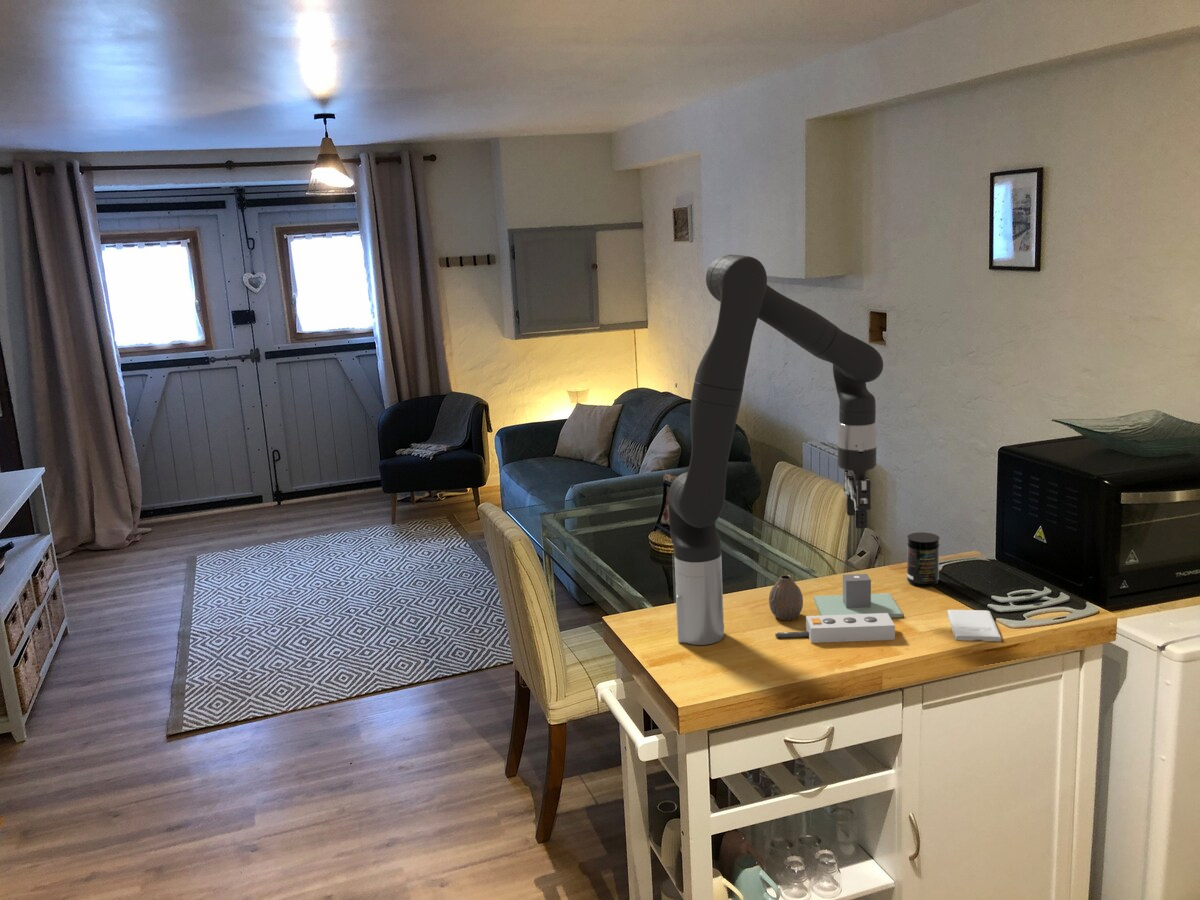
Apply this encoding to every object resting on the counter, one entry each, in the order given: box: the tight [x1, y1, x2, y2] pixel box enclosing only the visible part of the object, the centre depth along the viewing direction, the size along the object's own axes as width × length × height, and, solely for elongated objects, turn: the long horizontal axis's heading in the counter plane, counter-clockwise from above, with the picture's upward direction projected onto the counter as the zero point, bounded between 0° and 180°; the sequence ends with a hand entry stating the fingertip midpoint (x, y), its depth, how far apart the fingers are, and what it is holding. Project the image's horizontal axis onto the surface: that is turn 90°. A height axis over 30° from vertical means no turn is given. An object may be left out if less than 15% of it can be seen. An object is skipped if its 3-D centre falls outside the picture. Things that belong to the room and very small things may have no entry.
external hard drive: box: [946, 609, 1002, 642], centre depth 194 cm, size 2×8×12 cm
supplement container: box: [906, 532, 941, 588], centre depth 217 cm, size 7×7×10 cm
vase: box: [768, 574, 804, 621], centre depth 203 cm, size 7×7×9 cm
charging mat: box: [813, 592, 903, 619], centre depth 206 cm, size 16×11×1 cm
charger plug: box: [842, 573, 872, 608], centre depth 205 cm, size 5×4×6 cm
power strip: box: [774, 613, 896, 644], centre depth 194 cm, size 22×6×3 cm, turn 87°
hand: (856, 521), depth 202 cm, fingers open, 8 cm apart
